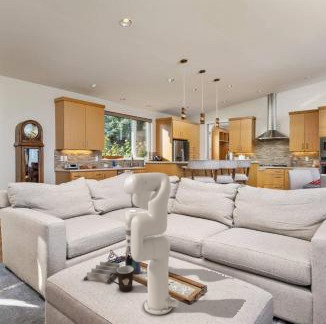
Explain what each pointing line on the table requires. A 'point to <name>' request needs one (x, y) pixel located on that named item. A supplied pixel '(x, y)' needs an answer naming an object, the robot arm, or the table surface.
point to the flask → (134, 266)
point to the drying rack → (103, 272)
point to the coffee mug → (124, 278)
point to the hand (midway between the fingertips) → (132, 261)
